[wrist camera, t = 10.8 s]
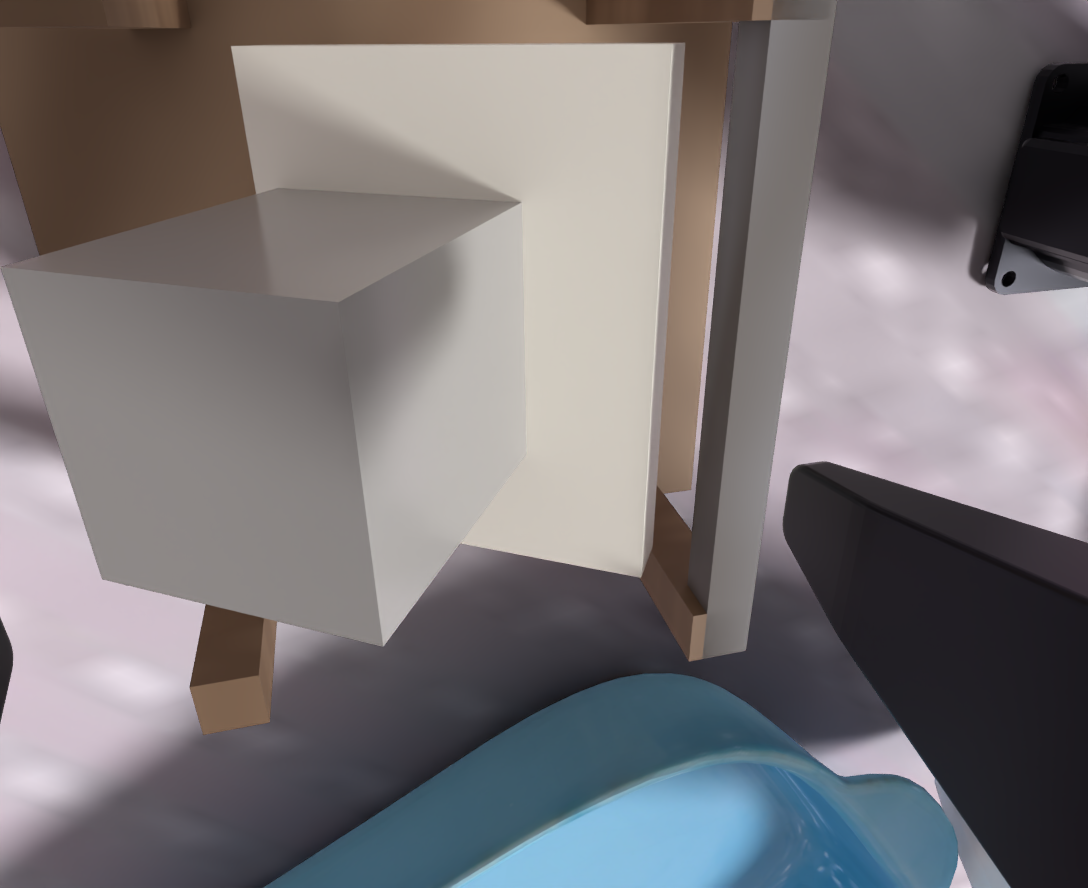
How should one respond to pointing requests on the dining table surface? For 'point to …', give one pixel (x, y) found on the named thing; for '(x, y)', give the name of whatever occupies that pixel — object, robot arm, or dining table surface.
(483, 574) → the dining table surface
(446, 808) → the casserole dish
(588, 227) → the trapdoor
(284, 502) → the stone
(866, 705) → the dining table surface
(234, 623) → the trapdoor stand
